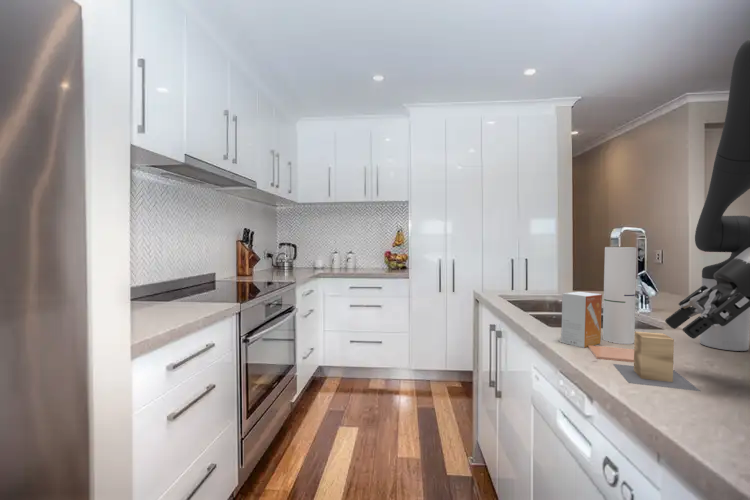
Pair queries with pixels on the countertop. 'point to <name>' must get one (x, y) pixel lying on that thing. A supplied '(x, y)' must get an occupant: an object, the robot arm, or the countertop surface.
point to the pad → (612, 353)
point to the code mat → (634, 378)
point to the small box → (581, 319)
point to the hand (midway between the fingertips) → (677, 329)
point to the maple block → (653, 356)
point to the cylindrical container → (619, 294)
